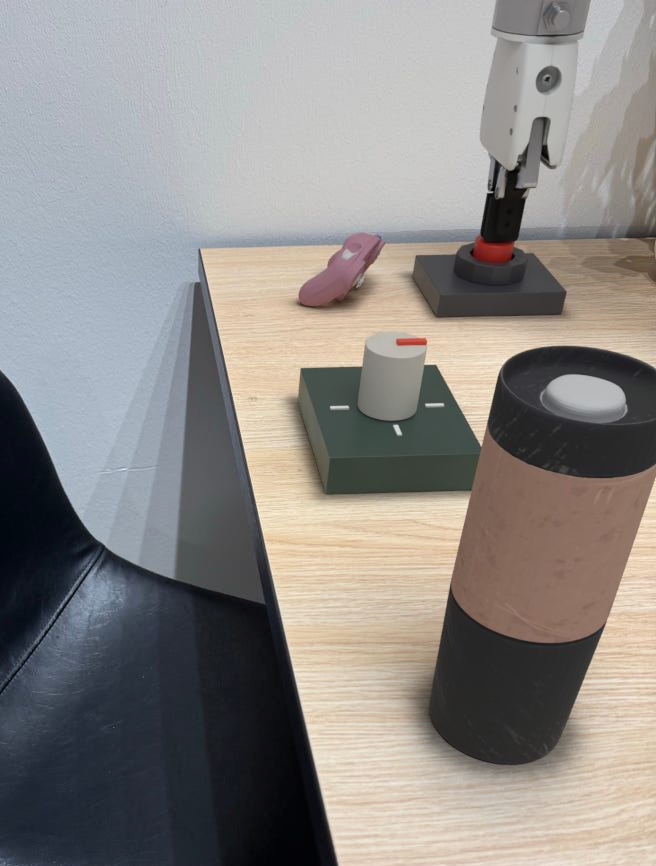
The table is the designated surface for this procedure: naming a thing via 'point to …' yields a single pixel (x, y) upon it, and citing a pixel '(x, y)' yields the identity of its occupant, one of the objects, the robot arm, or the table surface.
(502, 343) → the table surface
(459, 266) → the button box
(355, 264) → the pink rounded piece
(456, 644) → the travel mug
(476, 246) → the button
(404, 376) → the dial
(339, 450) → the panel
